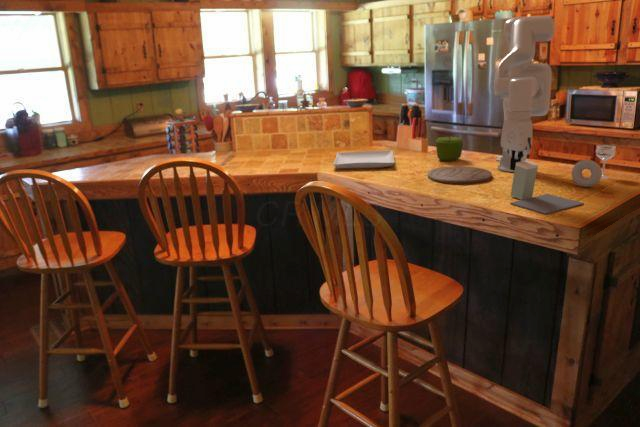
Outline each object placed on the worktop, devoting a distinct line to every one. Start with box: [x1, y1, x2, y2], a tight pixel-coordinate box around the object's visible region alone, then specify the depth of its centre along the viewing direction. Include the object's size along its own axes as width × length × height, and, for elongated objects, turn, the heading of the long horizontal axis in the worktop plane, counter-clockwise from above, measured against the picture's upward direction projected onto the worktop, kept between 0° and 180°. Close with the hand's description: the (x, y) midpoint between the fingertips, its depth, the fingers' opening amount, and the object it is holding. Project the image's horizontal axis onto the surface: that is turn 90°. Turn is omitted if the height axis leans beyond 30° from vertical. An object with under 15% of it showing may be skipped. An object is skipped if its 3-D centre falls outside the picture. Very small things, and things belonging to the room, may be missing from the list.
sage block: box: [510, 159, 539, 201], centre depth 181 cm, size 5×5×12 cm
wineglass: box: [595, 144, 617, 180], centre depth 202 cm, size 7×7×12 cm
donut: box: [571, 159, 603, 188], centre depth 191 cm, size 10×4×10 cm, turn 48°
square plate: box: [333, 150, 396, 170], centre depth 246 cm, size 27×27×4 cm
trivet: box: [427, 165, 493, 186], centre depth 214 cm, size 25×25×2 cm
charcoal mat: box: [509, 193, 584, 215], centre depth 174 cm, size 14×18×1 cm
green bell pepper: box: [435, 136, 464, 162], centre depth 244 cm, size 12×12×11 cm
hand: (515, 169), depth 183 cm, fingers closed
